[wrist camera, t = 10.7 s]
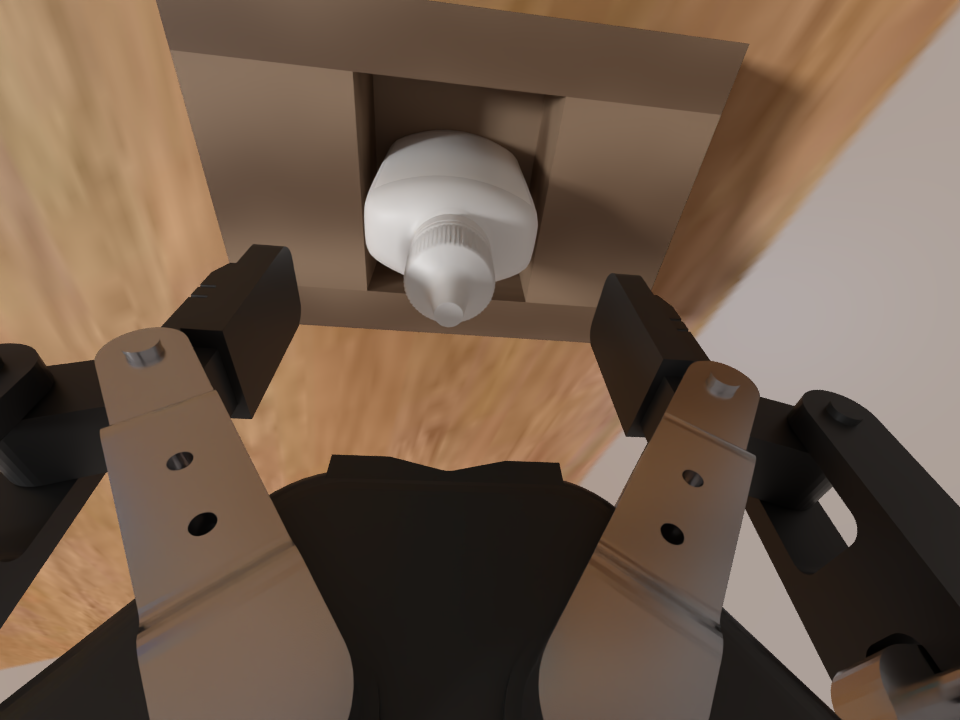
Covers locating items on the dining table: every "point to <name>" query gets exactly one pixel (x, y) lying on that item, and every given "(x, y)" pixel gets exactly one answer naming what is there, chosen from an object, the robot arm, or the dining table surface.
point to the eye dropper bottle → (450, 220)
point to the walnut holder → (445, 106)
